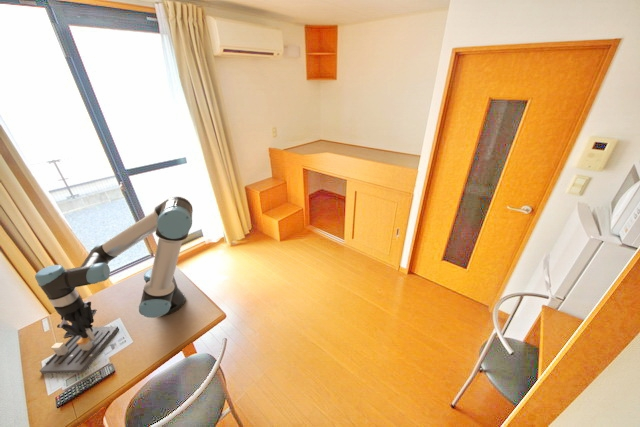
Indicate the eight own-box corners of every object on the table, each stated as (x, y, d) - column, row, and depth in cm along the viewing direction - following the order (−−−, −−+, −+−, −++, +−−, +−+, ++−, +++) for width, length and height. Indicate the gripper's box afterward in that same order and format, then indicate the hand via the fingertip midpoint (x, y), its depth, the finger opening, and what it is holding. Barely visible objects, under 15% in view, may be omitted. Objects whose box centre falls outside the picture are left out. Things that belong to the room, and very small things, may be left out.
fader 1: (69, 350, 102) (63, 342, 99) (64, 355, 100) (58, 347, 98) (61, 350, 102) (55, 342, 99) (56, 355, 100) (50, 347, 97)
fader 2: (93, 345, 104) (88, 337, 102) (89, 350, 102) (84, 342, 100) (86, 345, 104) (81, 338, 101) (81, 350, 102) (76, 342, 99)
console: (118, 329, 114) (116, 325, 113) (82, 372, 96) (79, 369, 95) (84, 329, 113) (82, 326, 112) (41, 373, 95) (38, 369, 94)
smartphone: (97, 308, 124) (82, 332, 111) (97, 309, 124) (83, 334, 112) (79, 312, 122) (62, 337, 109) (80, 313, 122) (63, 338, 110)
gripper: (72, 288, 100) (94, 326, 110) (40, 314, 88) (68, 354, 99) (90, 288, 100) (111, 326, 111) (60, 314, 88) (87, 354, 99)
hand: (91, 339), depth 105 cm, fingers closed
